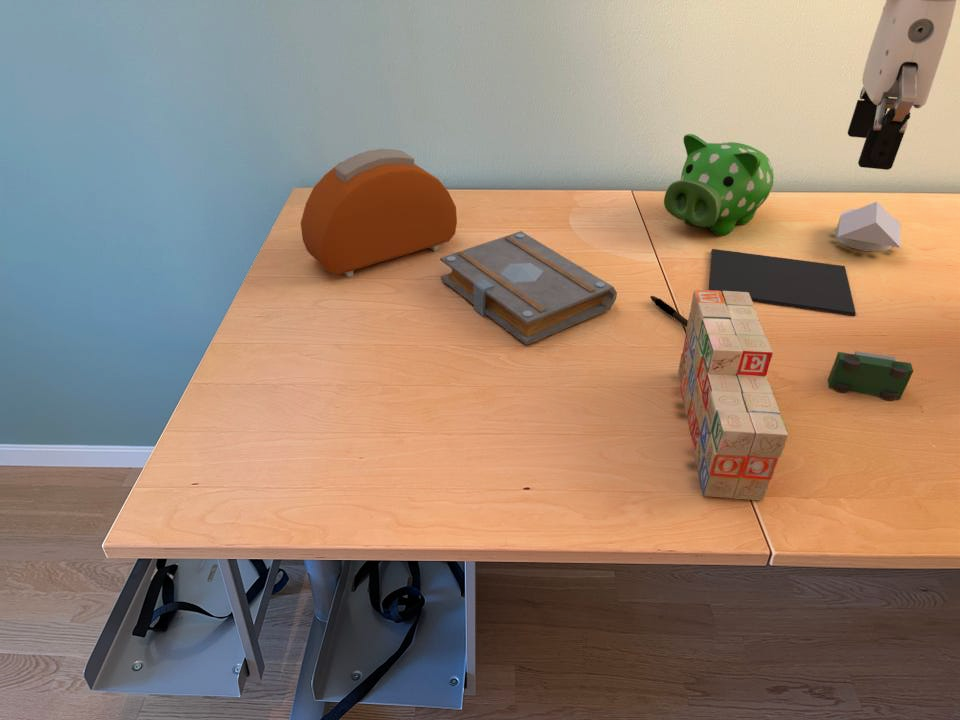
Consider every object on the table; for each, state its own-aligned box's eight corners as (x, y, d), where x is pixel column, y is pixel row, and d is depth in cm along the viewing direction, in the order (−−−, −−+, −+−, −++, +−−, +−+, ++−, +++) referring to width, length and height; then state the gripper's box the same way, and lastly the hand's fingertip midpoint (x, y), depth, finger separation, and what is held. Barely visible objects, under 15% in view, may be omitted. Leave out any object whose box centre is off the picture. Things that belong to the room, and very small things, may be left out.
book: (614, 309, 100) (618, 279, 97) (523, 348, 92) (525, 317, 89) (524, 252, 114) (525, 224, 111) (438, 282, 106) (437, 253, 103)
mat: (843, 269, 109) (844, 265, 109) (854, 316, 98) (856, 312, 98) (711, 251, 114) (712, 248, 113) (708, 295, 103) (708, 291, 103)
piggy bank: (648, 225, 122) (662, 140, 112) (707, 196, 131) (724, 116, 122) (720, 254, 113) (741, 164, 104) (777, 220, 123) (801, 136, 114)
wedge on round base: (893, 267, 110) (893, 233, 119) (908, 228, 105) (907, 195, 115) (831, 255, 113) (836, 223, 122) (844, 217, 109) (848, 186, 118)
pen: (723, 348, 92) (724, 341, 91) (713, 351, 91) (715, 344, 91) (656, 298, 102) (657, 291, 101) (647, 300, 101) (648, 294, 101)
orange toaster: (432, 226, 122) (427, 130, 111) (459, 246, 115) (457, 147, 105) (305, 262, 111) (287, 160, 101) (327, 286, 105) (311, 180, 95)
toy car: (895, 384, 86) (909, 356, 83) (901, 403, 83) (914, 373, 81) (826, 373, 88) (836, 345, 85) (829, 390, 85) (840, 362, 82)
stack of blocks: (765, 502, 71) (797, 411, 63) (702, 498, 71) (727, 406, 64) (727, 374, 88) (749, 289, 80) (676, 371, 88) (694, 287, 81)
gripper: (995, -6, 59) (920, 185, 70) (949, -35, 73) (891, 129, 83) (898, -11, 61) (839, 177, 71) (871, -38, 74) (824, 123, 85)
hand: (867, 151), depth 77 cm, fingers open, 9 cm apart
